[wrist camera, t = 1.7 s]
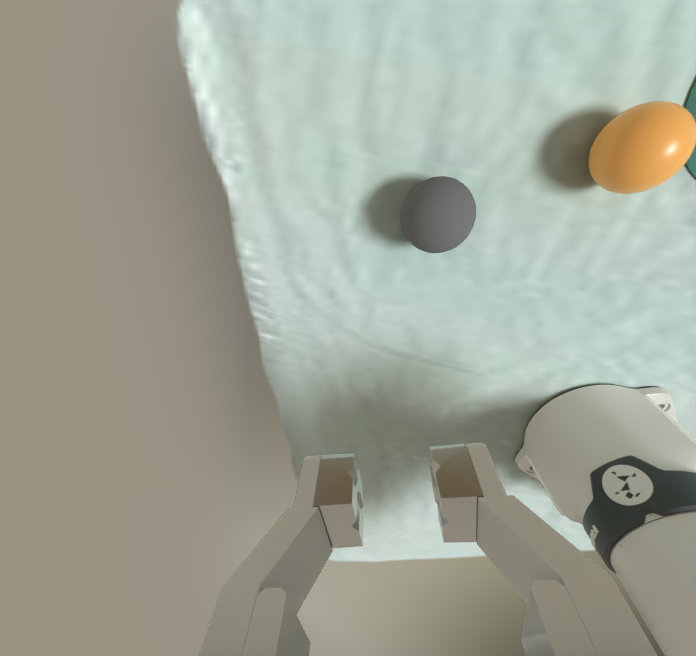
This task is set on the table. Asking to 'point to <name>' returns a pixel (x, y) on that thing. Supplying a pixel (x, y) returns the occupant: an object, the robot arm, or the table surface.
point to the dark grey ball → (438, 214)
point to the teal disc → (695, 108)
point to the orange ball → (642, 147)
